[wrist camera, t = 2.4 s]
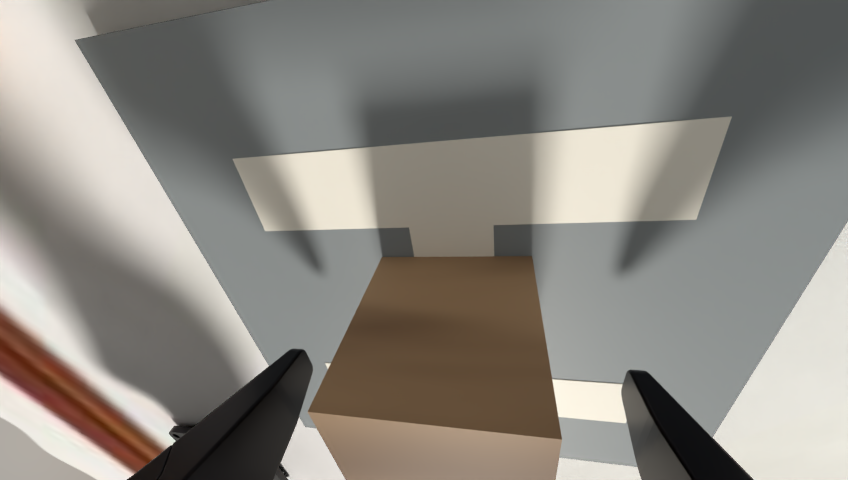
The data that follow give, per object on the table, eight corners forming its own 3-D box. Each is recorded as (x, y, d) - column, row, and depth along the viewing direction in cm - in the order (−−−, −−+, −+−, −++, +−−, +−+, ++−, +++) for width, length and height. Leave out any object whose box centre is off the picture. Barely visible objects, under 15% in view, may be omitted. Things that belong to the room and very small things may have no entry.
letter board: (683, 457, 14) (690, 474, 14) (310, 416, 18) (305, 427, 18) (1029, -149, 5) (1095, -169, 4) (98, 38, 9) (73, 40, 8)
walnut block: (527, 359, 12) (544, 541, 8) (405, 351, 13) (362, 509, 9) (532, 256, 9) (561, 439, 5) (381, 257, 10) (306, 412, 6)
